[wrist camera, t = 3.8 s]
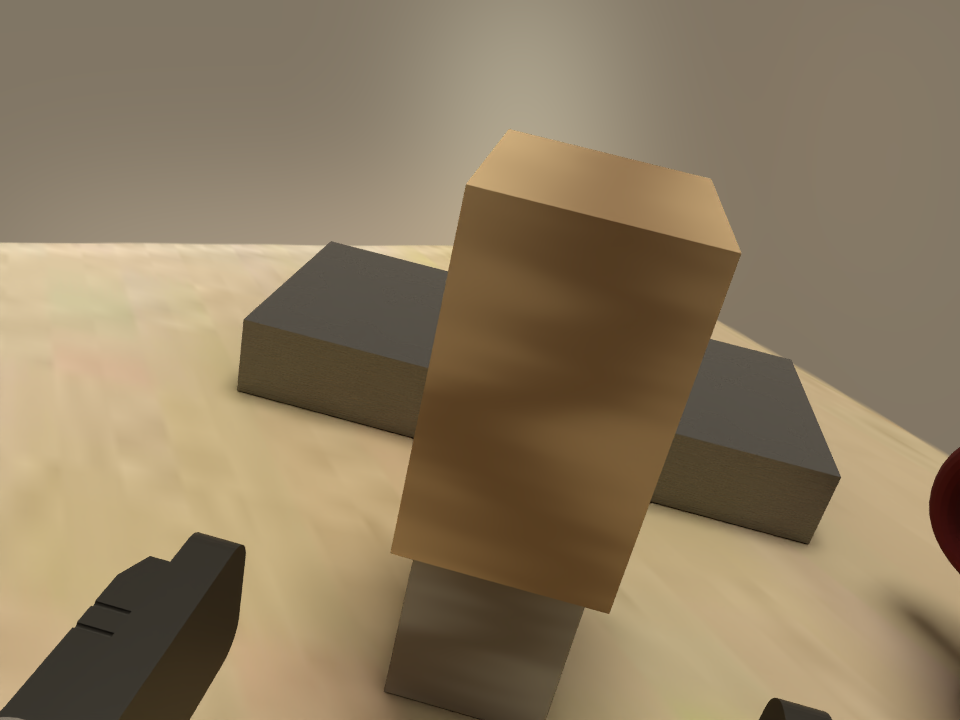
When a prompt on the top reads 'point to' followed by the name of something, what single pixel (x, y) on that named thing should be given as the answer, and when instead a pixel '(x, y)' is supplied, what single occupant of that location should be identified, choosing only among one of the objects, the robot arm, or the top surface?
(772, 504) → the dark grey slab
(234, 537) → the top surface
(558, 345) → the tan wooden tall block
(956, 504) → the mug
